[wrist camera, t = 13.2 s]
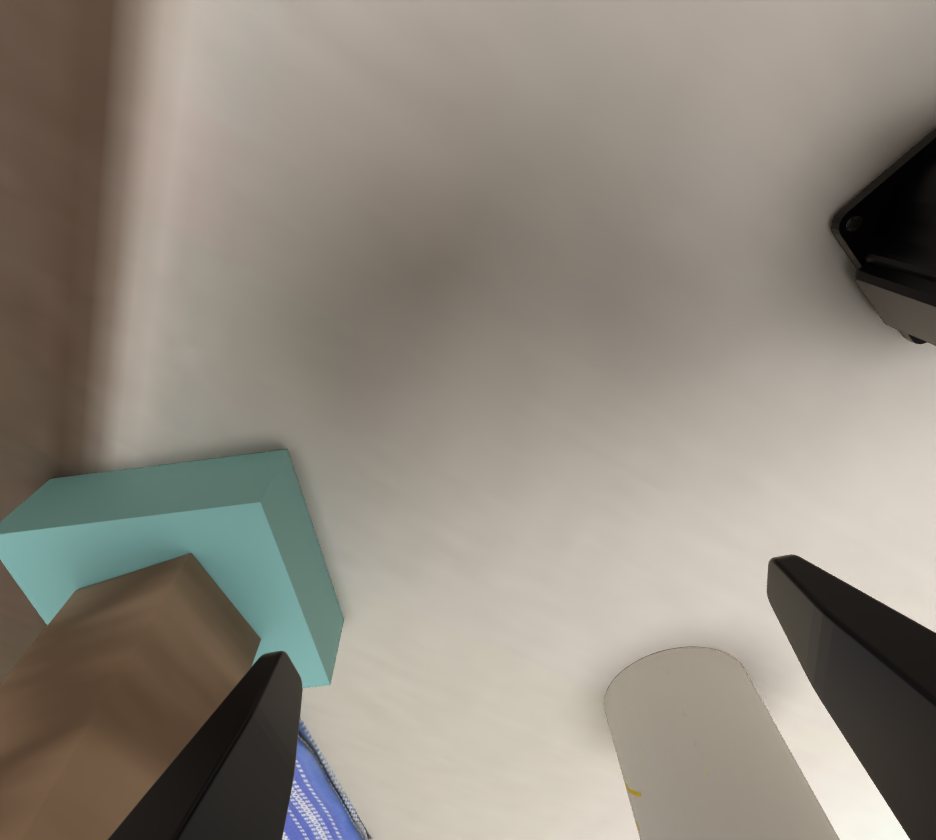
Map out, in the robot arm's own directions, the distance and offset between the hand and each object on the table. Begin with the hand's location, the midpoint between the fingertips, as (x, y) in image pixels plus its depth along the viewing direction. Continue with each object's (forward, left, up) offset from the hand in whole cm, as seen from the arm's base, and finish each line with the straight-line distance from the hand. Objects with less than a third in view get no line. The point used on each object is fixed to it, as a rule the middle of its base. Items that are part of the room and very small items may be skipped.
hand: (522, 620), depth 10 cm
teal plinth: (+15, -3, -12) cm, 20 cm away
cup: (+7, +22, -12) cm, 26 cm away
